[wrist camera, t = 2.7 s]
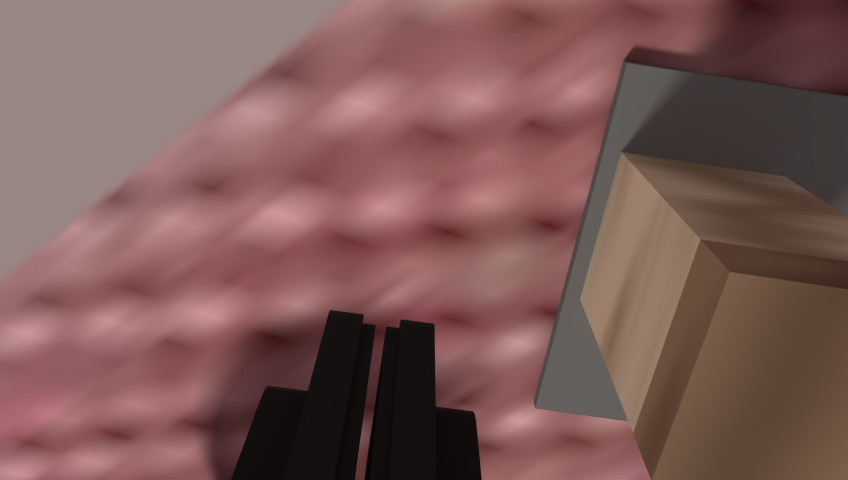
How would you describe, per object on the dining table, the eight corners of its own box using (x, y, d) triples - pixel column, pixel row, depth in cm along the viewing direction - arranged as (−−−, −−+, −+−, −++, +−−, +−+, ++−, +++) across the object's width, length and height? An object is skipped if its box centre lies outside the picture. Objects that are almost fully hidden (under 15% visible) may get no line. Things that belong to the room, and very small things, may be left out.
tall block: (785, 176, 19) (994, 311, 12) (729, 320, 21) (879, 511, 14) (620, 151, 19) (730, 271, 12) (579, 299, 21) (651, 481, 14)
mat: (1094, 134, 19) (1107, 138, 19) (911, 453, 24) (918, 461, 23) (623, 60, 19) (627, 62, 18) (534, 401, 23) (535, 408, 23)
